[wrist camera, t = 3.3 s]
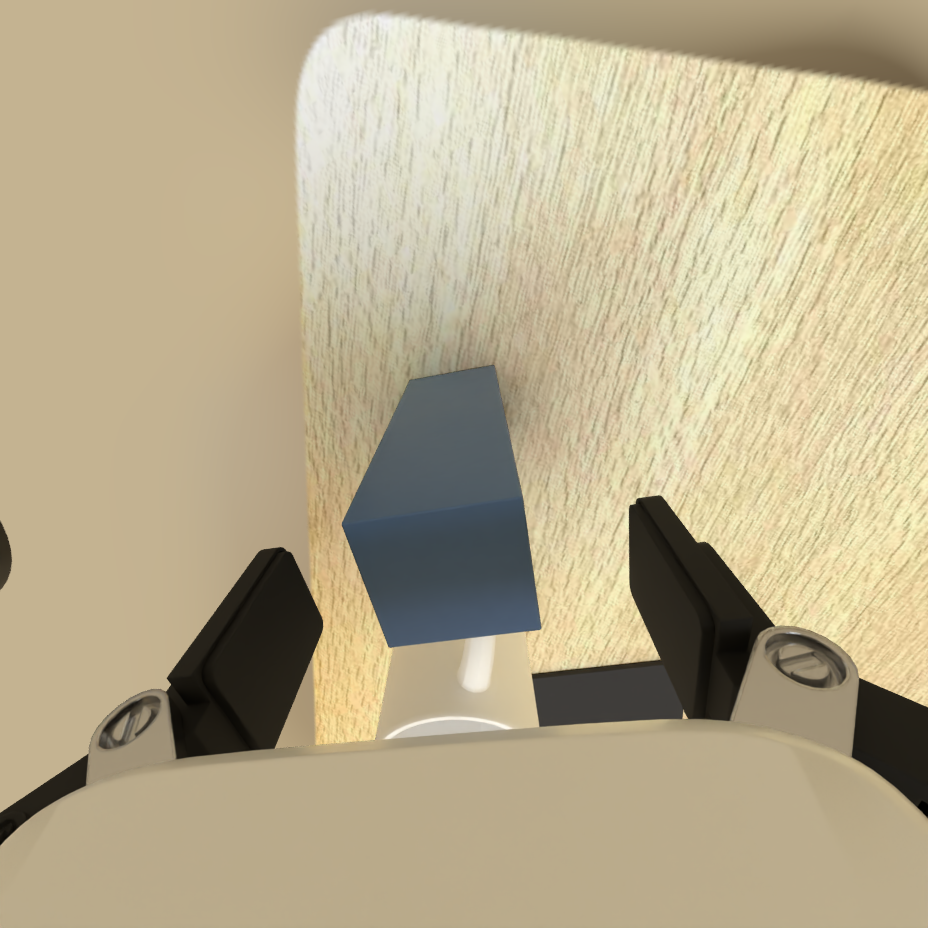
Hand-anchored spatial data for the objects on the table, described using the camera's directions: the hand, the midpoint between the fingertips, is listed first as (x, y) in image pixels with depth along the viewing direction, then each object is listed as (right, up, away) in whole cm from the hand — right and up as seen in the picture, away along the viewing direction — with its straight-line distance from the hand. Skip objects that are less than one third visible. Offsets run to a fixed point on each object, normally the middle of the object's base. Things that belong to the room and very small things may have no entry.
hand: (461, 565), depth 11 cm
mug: (0, -5, +17) cm, 18 cm away
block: (0, +6, +11) cm, 13 cm away
